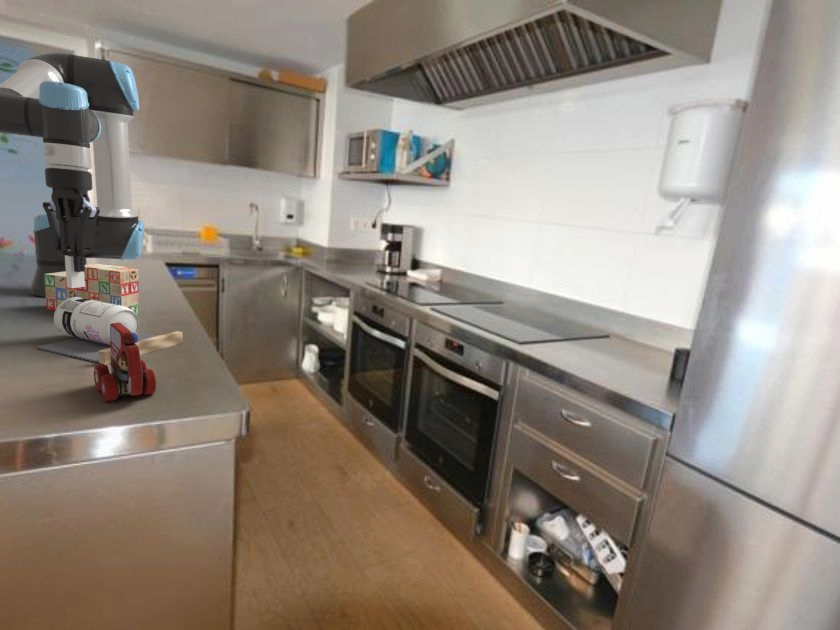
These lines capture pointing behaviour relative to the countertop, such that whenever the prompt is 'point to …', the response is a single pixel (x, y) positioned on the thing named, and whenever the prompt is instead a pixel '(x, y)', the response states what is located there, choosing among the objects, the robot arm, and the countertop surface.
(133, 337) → the toy fire truck
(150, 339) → the stop rail
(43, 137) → the robot arm
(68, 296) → the stack of blocks
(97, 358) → the mat
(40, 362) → the countertop surface
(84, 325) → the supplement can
